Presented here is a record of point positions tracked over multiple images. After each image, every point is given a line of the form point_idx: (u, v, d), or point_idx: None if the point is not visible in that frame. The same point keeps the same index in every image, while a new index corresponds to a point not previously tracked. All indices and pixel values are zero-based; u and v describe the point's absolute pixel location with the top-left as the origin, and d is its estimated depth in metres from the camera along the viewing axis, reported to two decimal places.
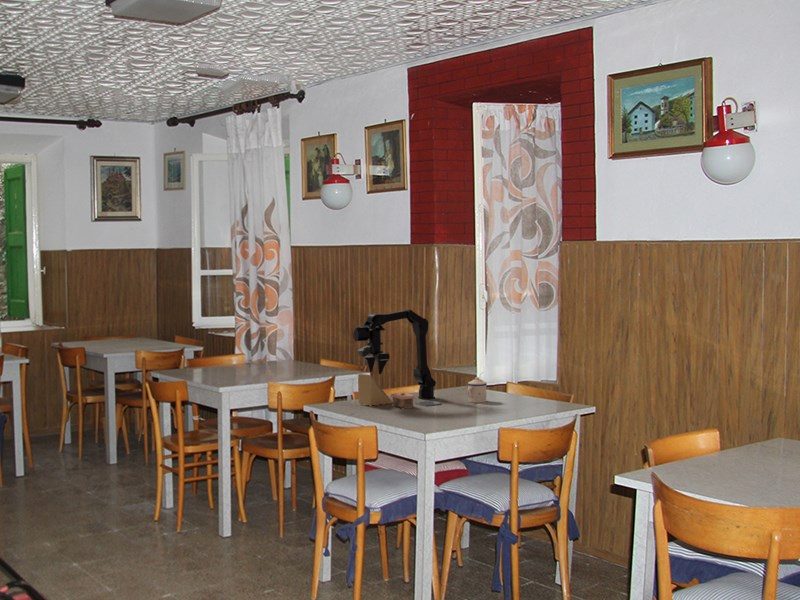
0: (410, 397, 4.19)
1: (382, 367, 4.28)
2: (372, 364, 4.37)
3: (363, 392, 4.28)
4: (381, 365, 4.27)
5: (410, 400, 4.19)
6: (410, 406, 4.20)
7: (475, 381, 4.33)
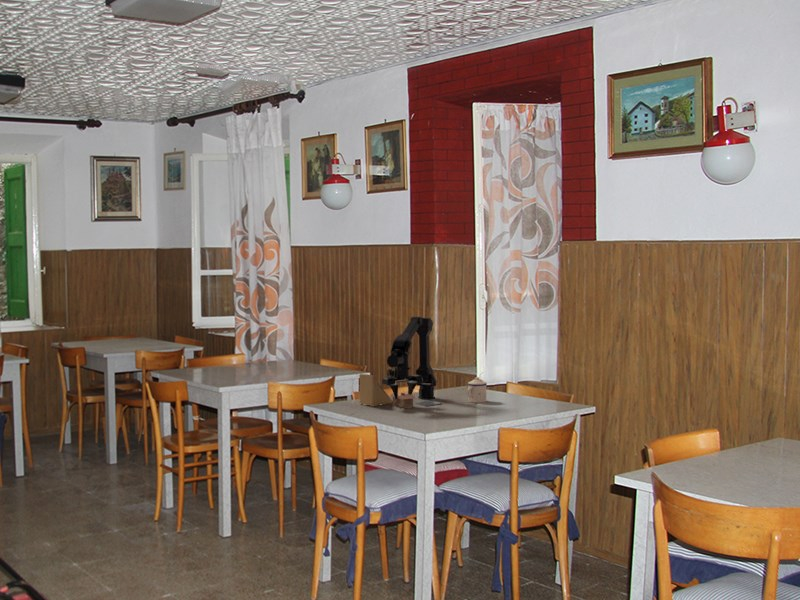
0: (410, 397, 4.19)
1: (395, 392, 4.20)
2: (410, 390, 4.24)
3: (365, 392, 4.28)
4: (394, 390, 4.20)
5: (410, 400, 4.19)
6: (410, 406, 4.20)
7: (475, 381, 4.33)
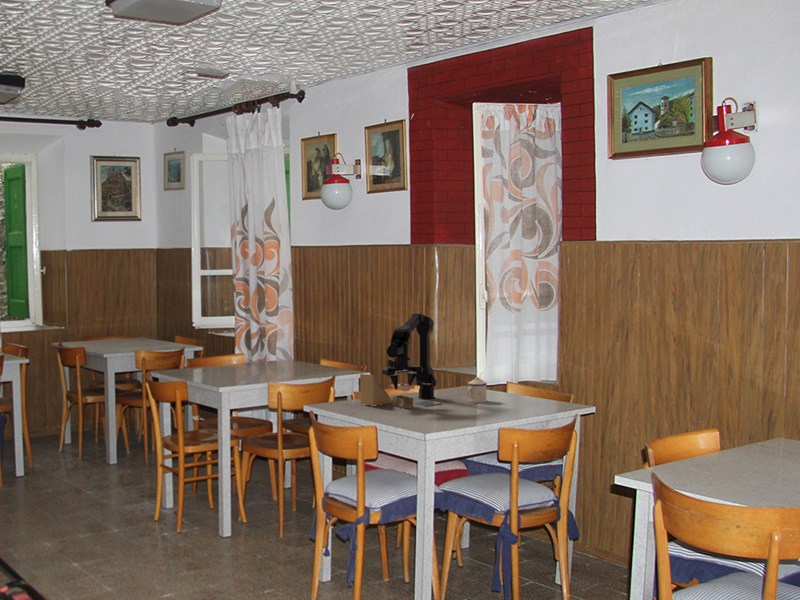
0: (410, 388, 4.19)
1: (394, 383, 4.20)
2: (410, 381, 4.24)
3: (365, 392, 4.28)
4: (393, 380, 4.20)
5: (410, 400, 4.19)
6: (410, 406, 4.20)
7: (475, 381, 4.33)
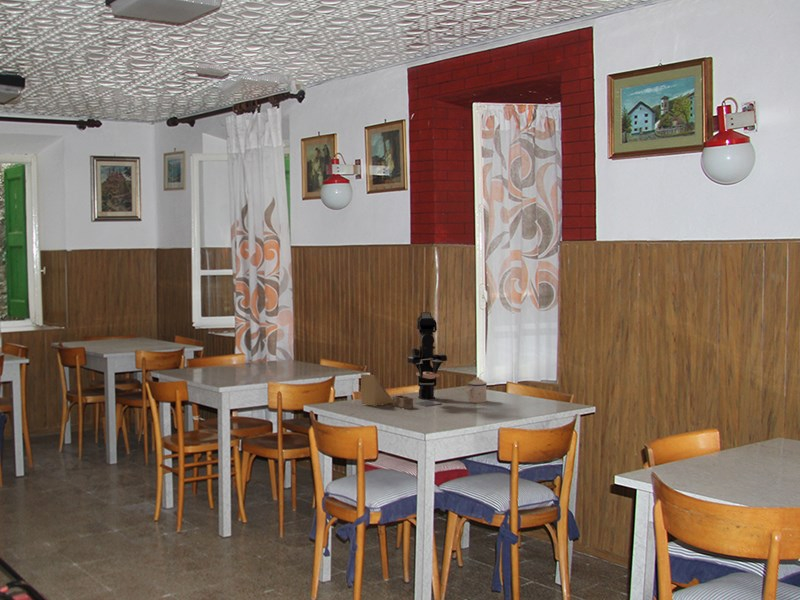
0: (435, 376, 4.25)
1: (420, 371, 4.26)
2: (435, 369, 4.30)
3: (366, 392, 4.28)
4: (419, 369, 4.27)
5: (410, 400, 4.19)
6: (410, 406, 4.20)
7: (475, 381, 4.33)
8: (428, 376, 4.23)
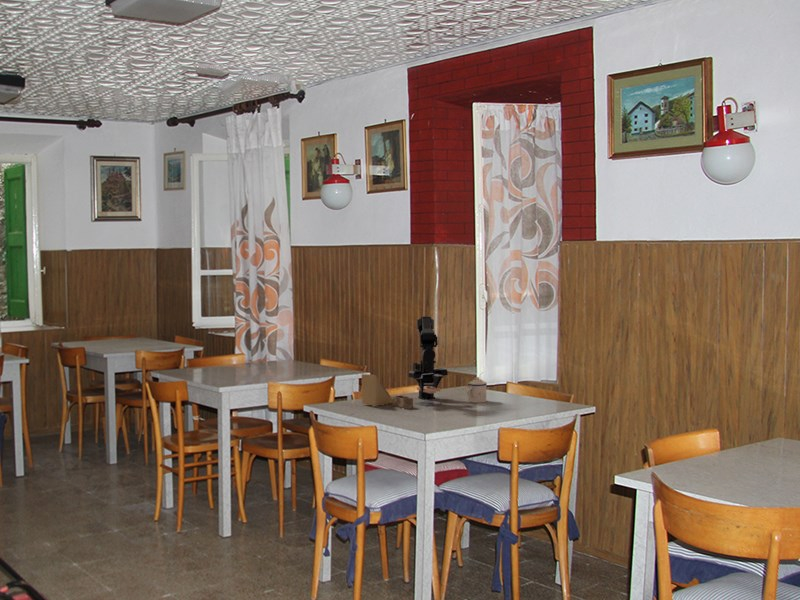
0: (436, 390, 4.26)
1: (421, 385, 4.27)
2: (435, 383, 4.31)
3: (367, 392, 4.27)
4: (420, 383, 4.27)
5: (410, 400, 4.19)
6: (410, 406, 4.20)
7: (475, 381, 4.33)
8: (429, 391, 4.24)
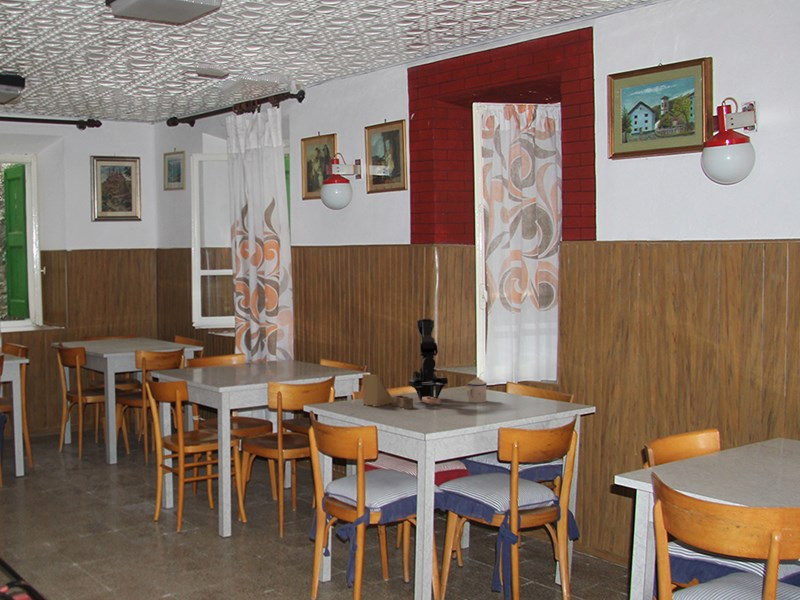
0: (436, 401, 4.26)
1: (419, 394, 4.27)
2: (437, 391, 4.31)
3: (368, 392, 4.27)
4: (418, 392, 4.27)
5: (410, 400, 4.19)
6: (410, 406, 4.20)
7: (475, 381, 4.33)
8: (429, 401, 4.24)
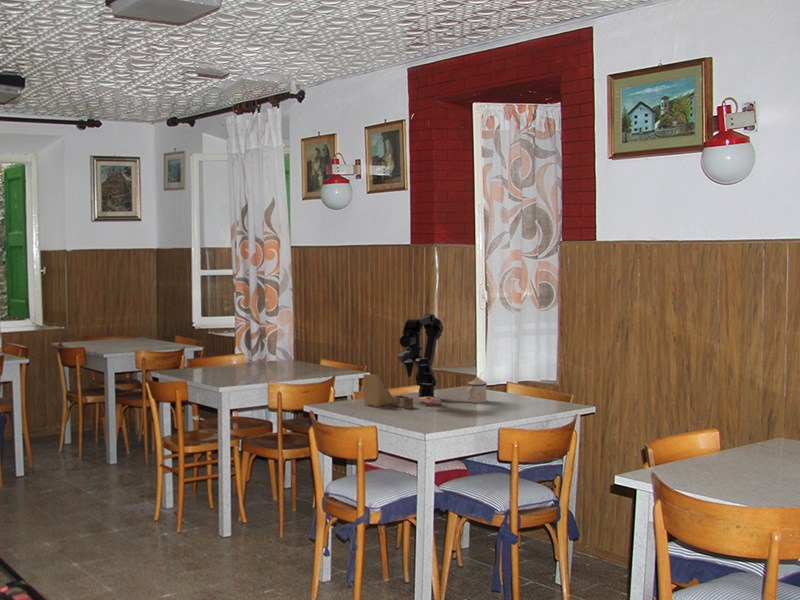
0: (436, 401, 4.26)
1: (422, 372, 4.29)
2: (411, 369, 4.38)
3: (369, 392, 4.27)
4: (421, 370, 4.28)
5: (410, 400, 4.19)
6: (410, 406, 4.20)
7: (475, 381, 4.33)
8: (429, 401, 4.24)
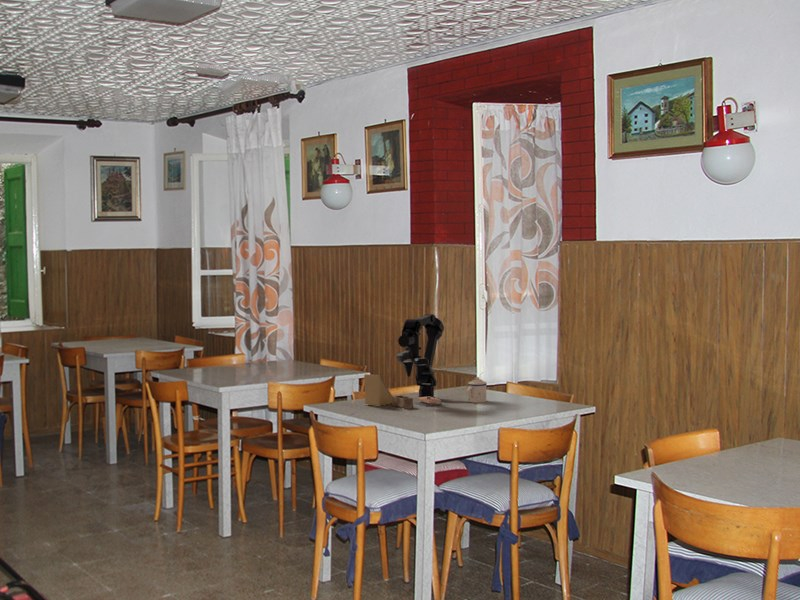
0: (436, 401, 4.26)
1: (421, 372, 4.29)
2: (410, 369, 4.38)
3: (370, 392, 4.27)
4: (420, 370, 4.29)
5: (410, 400, 4.19)
6: (410, 406, 4.20)
7: (475, 381, 4.33)
8: (429, 401, 4.24)
